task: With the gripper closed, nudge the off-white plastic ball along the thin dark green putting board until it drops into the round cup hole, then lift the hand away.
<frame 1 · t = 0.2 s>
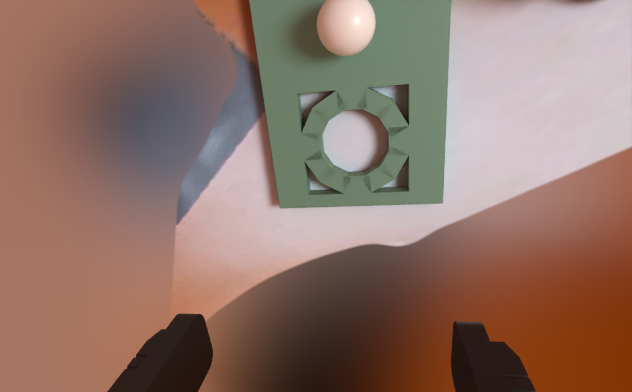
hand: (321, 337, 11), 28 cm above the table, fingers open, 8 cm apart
putting board: (351, 82, 35), on the table
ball: (345, 24, 29), point 4 cm above the table, touching putting board
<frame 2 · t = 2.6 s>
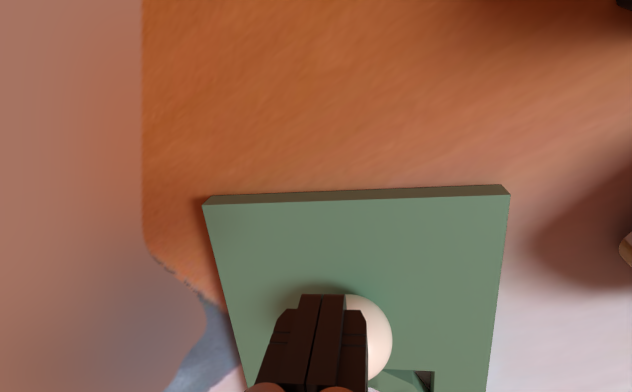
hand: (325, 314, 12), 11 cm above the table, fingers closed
putting board: (357, 346, 26), on the table
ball: (350, 337, 21), point 4 cm above the table, touching putting board
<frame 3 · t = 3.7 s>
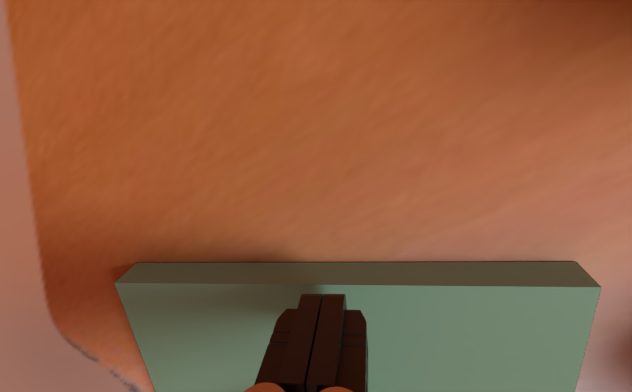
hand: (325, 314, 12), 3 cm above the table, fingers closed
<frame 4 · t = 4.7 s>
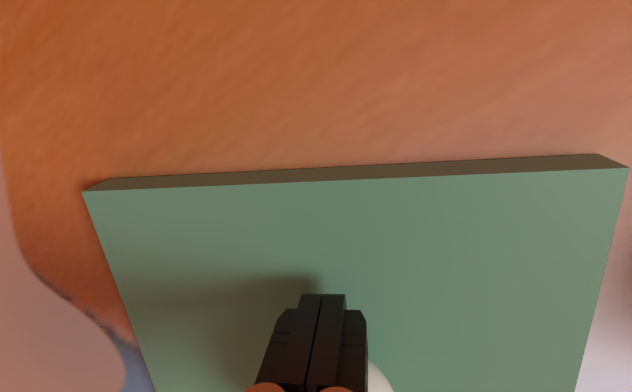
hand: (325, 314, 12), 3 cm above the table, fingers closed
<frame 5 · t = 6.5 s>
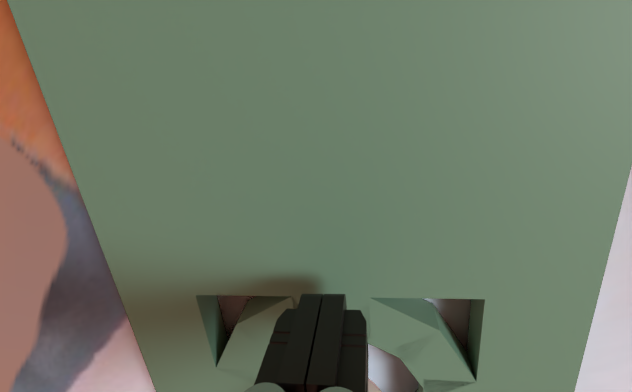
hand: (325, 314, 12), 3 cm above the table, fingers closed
putting board: (332, 263, 14), on the table
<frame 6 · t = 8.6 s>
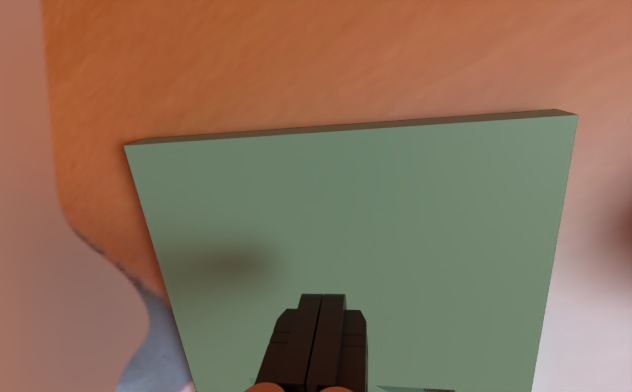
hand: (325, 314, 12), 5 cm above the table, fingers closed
putting board: (348, 354, 20), on the table
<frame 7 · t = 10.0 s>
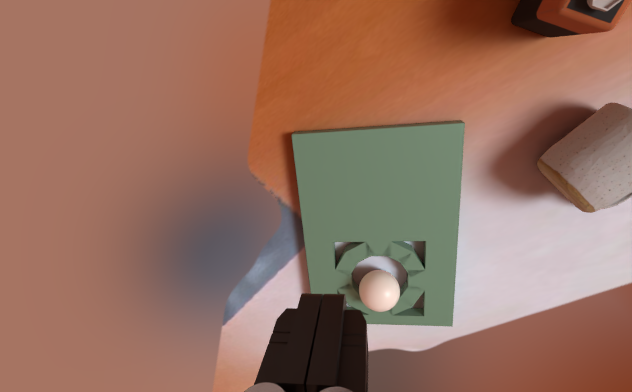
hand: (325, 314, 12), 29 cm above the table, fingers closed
putting board: (377, 231, 42), on the table
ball: (379, 290, 43), point 2 cm above the table, tilted 137°
ceramic mug: (587, 157, 36), on the table
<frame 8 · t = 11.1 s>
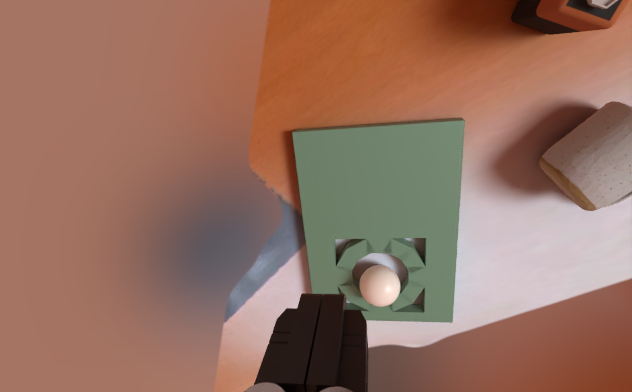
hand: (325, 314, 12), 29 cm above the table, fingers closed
putting board: (378, 229, 43), on the table
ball: (379, 285, 43), point 2 cm above the table, tilted 143°
ceramic mug: (588, 155, 36), on the table
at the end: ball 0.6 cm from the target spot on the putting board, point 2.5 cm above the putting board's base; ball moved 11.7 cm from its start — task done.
